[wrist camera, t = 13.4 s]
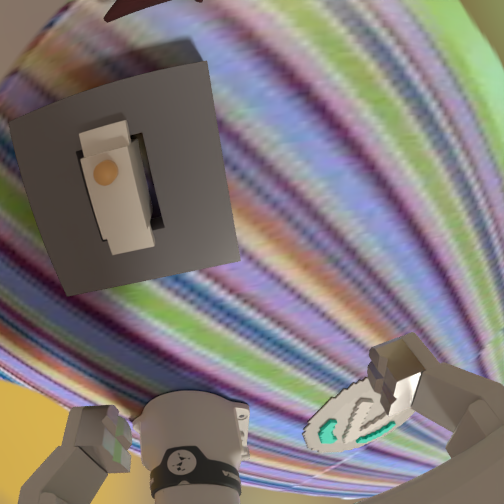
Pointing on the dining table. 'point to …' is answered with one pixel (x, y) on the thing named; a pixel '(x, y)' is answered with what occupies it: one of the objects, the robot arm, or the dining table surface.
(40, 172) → the grey board with hole
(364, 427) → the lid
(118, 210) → the servo
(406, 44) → the dining table surface
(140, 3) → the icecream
